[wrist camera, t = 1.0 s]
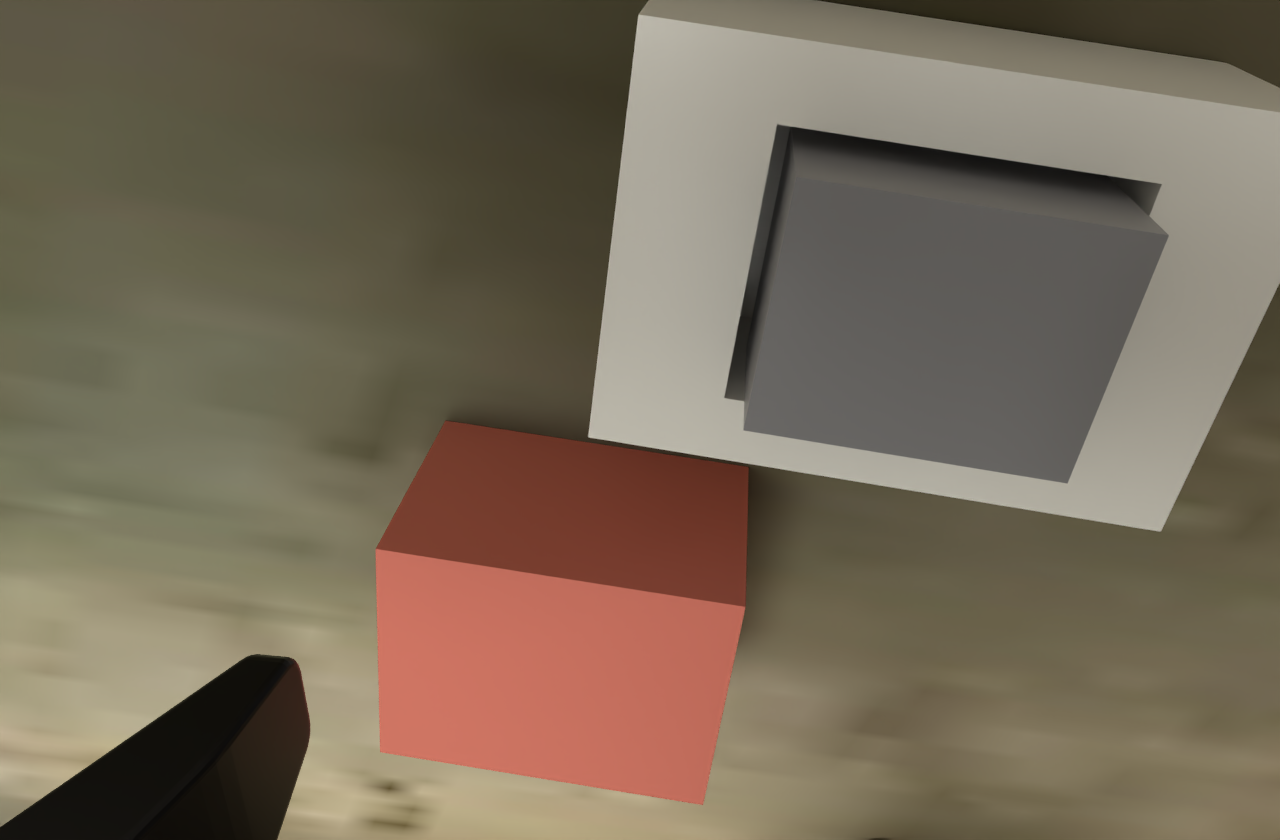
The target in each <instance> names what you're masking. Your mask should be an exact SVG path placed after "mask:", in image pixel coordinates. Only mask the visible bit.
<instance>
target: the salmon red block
mask: <svg viewBox="0 0 1280 840" xmlns="http://www.w3.org/2000/svg"><path fill="white" fill-rule="evenodd" d="M748 474H749V467H745V466H739V465H732V464H726V463H719V462H713V461H706V460H700V459H693V458H687V457H680V456H674V455H667V454H661V453H654V452H648V451H641V450H635V449H628V448H621V447H615V446H608V445H602V444H595V443H589V442H582V441H576V440H569V439H563V438H556V437H550V436H543V435H537V434H530V433H524V432H517V431H510V430H504V429H497V428H491V427H484V426H478V425H471V424H465V423H458V422H452V421H445V423H444V424H443V426H442V428H441V430H440V432H439V434H438V435H437V437H436V439H435V441H434V443H433V445H432V446H431V448H430V450H429V452H428V454H427V456H426V458H425V459H424V461H423V463H422V465H421V467H420V469H419V470H418V472H417V474H416V476H415V478H414V480H413V481H412V483H411V485H410V487H409V489H408V491H407V492H406V494H405V496H404V498H403V500H402V502H401V503H400V505H399V507H398V509H397V511H396V513H395V514H394V516H393V518H392V520H391V522H390V524H389V525H388V527H387V529H386V531H385V533H384V535H383V537H382V538H381V540H380V542H379V544H378V546H377V548H376V584H377V628H378V673H379V717H380V752H383V753H389V754H395V755H402V756H408V757H414V758H420V759H426V760H432V761H438V762H444V763H450V764H456V765H463V766H469V767H475V768H481V769H487V770H493V771H499V772H505V773H511V774H517V775H524V776H530V777H536V778H542V779H548V780H554V781H560V782H566V783H572V784H579V785H585V786H591V787H597V788H603V789H609V790H615V791H621V792H627V793H633V794H640V795H646V796H652V797H658V798H664V799H670V800H676V801H682V802H688V803H695V804H701V805H703V802H704V798H705V793H706V788H707V784H708V779H709V774H710V770H711V765H712V760H713V756H714V751H715V747H716V742H717V737H718V733H719V728H720V723H721V719H722V714H723V709H724V705H725V700H726V696H727V691H728V686H729V682H730V677H731V672H732V668H733V663H734V658H735V654H736V649H737V645H738V640H739V635H740V631H741V626H742V621H743V617H744V612H745V608H746V565H747V520H748Z"/></svg>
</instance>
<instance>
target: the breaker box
mask: <svg viewBox="0 0 1280 840" xmlns="http://www.w3.org/2000/svg"><path fill="white" fill-rule="evenodd" d="M790 126H792V127H798V128H805V129H811V130H817V131H824V132H830V133H837V134H843V135H850V136H856V137H862V138H869V139H875V140H882V141H888V142H895V143H901V144H907V145H914V146H920V147H927V148H933V149H940V150H946V151H952V152H959V153H965V154H972V155H978V156H985V157H991V158H997V159H1004V160H1010V161H1017V162H1023V163H1030V164H1036V165H1043V166H1049V167H1055V168H1062V169H1068V170H1075V171H1081V172H1088V173H1094V174H1100V175H1107V176H1108V177H1109V178H1110V179H1111V180H1113V181H1114V182H1115V183H1116V184H1117V185H1118V186H1119V187H1120V188H1121V189H1122V190H1123V191H1124V192H1125V193H1126V194H1127V195H1128V196H1129V197H1130V198H1131V199H1132V200H1133V201H1134V202H1135V203H1136V204H1137V205H1138V206H1139V207H1140V208H1141V209H1142V210H1143V211H1144V212H1145V213H1147V214H1148V215H1149V216H1150V217H1151V218H1152V219H1153V220H1154V221H1155V222H1156V223H1157V224H1158V225H1159V226H1160V227H1161V228H1162V229H1163V230H1164V231H1165V232H1166V233H1167V234H1168V235H1169V237H1168V239H1167V242H1166V244H1165V246H1164V249H1163V251H1162V254H1161V256H1160V259H1159V261H1158V264H1157V266H1156V268H1155V271H1154V273H1153V276H1152V278H1151V281H1150V283H1149V286H1148V288H1147V290H1146V293H1145V295H1144V298H1143V300H1142V303H1141V305H1140V308H1139V310H1138V312H1137V315H1136V317H1135V320H1134V322H1133V325H1132V327H1131V330H1130V332H1129V334H1128V337H1127V339H1126V342H1125V344H1124V347H1123V349H1122V352H1121V354H1120V356H1119V359H1118V361H1117V364H1116V366H1115V369H1114V371H1113V374H1112V376H1111V378H1110V381H1109V383H1108V386H1107V388H1106V391H1105V393H1104V396H1103V398H1102V400H1101V403H1100V405H1099V408H1098V410H1097V413H1096V415H1095V418H1094V420H1093V422H1092V425H1091V427H1090V430H1089V432H1088V435H1087V437H1086V440H1085V442H1084V445H1083V447H1082V449H1081V452H1080V454H1079V457H1078V459H1077V462H1076V464H1075V467H1074V469H1073V471H1072V474H1071V476H1070V479H1069V481H1068V484H1067V483H1061V482H1055V481H1049V480H1043V479H1037V478H1031V477H1024V476H1018V475H1012V474H1006V473H1000V472H994V471H988V470H982V469H976V468H970V467H964V466H957V465H951V464H945V463H939V462H933V461H927V460H921V459H915V458H909V457H903V456H896V455H890V454H884V453H878V452H872V451H866V450H860V449H854V448H848V447H842V446H836V445H829V444H823V443H817V442H811V441H805V440H799V439H793V438H787V437H781V436H775V435H768V434H762V433H756V432H750V431H744V430H743V426H744V397H745V368H746V346H747V341H748V336H749V331H750V326H751V321H752V316H753V311H754V306H755V301H756V296H757V291H758V286H759V281H760V276H761V271H762V266H763V261H764V256H765V251H766V246H767V241H768V236H769V231H770V226H771V221H772V216H773V211H774V206H775V201H776V196H777V191H778V186H779V181H780V176H781V171H782V166H783V161H784V156H785V151H786V146H787V141H788V136H789V131H790ZM1279 283H1280V88H1279V87H1277V86H1274V85H1272V84H1270V83H1268V82H1266V81H1264V80H1262V79H1260V78H1258V77H1256V76H1254V75H1251V74H1249V73H1247V72H1245V71H1243V70H1241V69H1239V68H1237V67H1235V66H1233V65H1230V64H1228V63H1225V62H1218V61H1212V60H1205V59H1199V58H1192V57H1185V56H1179V55H1172V54H1166V53H1159V52H1153V51H1146V50H1139V49H1133V48H1126V47H1120V46H1113V45H1106V44H1100V43H1093V42H1087V41H1080V40H1074V39H1067V38H1060V37H1054V36H1047V35H1041V34H1034V33H1028V32H1021V31H1014V30H1008V29H1001V28H995V27H988V26H981V25H975V24H968V23H962V22H955V21H949V20H942V19H935V18H929V17H922V16H916V15H909V14H902V13H896V12H889V11H883V10H876V9H870V8H863V7H856V6H850V5H843V4H837V3H830V2H823V1H817V0H649V1H648V2H647V3H646V5H645V6H644V7H643V9H642V10H641V12H640V13H639V14H638V22H637V31H636V39H635V48H634V56H633V64H632V73H631V81H630V90H629V98H628V106H627V115H626V123H625V132H624V140H623V148H622V157H621V165H620V174H619V182H618V190H617V199H616V207H615V216H614V224H613V232H612V241H611V249H610V258H609V266H608V274H607V283H606V291H605V300H604V308H603V316H602V325H601V333H600V342H599V350H598V358H597V367H596V375H595V384H594V392H593V400H592V409H591V417H590V426H589V434H588V437H589V438H596V439H602V440H608V441H614V442H620V443H626V444H632V445H638V446H644V447H650V448H656V449H662V450H668V451H674V452H680V453H686V454H693V455H699V456H705V457H711V458H717V459H723V460H729V461H735V462H741V463H747V464H753V465H759V466H765V467H771V468H777V469H783V470H790V471H796V472H802V473H808V474H814V475H820V476H826V477H832V478H838V479H844V480H850V481H856V482H862V483H868V484H874V485H880V486H887V487H893V488H899V489H905V490H911V491H917V492H923V493H929V494H935V495H941V496H947V497H953V498H959V499H965V500H971V501H977V502H983V503H990V504H996V505H1002V506H1008V507H1014V508H1020V509H1026V510H1032V511H1038V512H1044V513H1050V514H1056V515H1062V516H1068V517H1074V518H1080V519H1087V520H1093V521H1099V522H1105V523H1111V524H1117V525H1123V526H1129V527H1135V528H1141V529H1147V530H1153V531H1159V532H1161V530H1162V528H1163V526H1164V524H1165V522H1166V520H1167V517H1168V515H1169V513H1170V511H1171V509H1172V507H1173V505H1174V503H1175V501H1176V499H1177V497H1178V494H1179V492H1180V490H1181V488H1182V486H1183V484H1184V482H1185V480H1186V478H1187V476H1188V474H1189V471H1190V469H1191V467H1192V465H1193V463H1194V461H1195V459H1196V457H1197V455H1198V453H1199V451H1200V448H1201V446H1202V444H1203V442H1204V440H1205V438H1206V436H1207V434H1208V432H1209V430H1210V428H1211V425H1212V423H1213V421H1214V419H1215V417H1216V415H1217V413H1218V411H1219V409H1220V407H1221V405H1222V402H1223V400H1224V398H1225V396H1226V394H1227V392H1228V390H1229V388H1230V386H1231V384H1232V382H1233V379H1234V377H1235V375H1236V373H1237V371H1238V369H1239V367H1240V365H1241V363H1242V361H1243V359H1244V356H1245V354H1246V352H1247V350H1248V348H1249V346H1250V344H1251V342H1252V340H1253V338H1254V336H1255V333H1256V331H1257V329H1258V327H1259V325H1260V323H1261V321H1262V319H1263V317H1264V315H1265V313H1266V310H1267V308H1268V306H1269V304H1270V302H1271V300H1272V298H1273V296H1274V294H1275V292H1276V290H1277V287H1278V285H1279Z"/></svg>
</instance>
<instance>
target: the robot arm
mask: <svg viewBox="0 0 1280 840" xmlns="http://www.w3.org/2000/svg"><path fill="white" fill-rule="evenodd" d="M309 738H310V719H309V713H308V708H307V703H306V697H305V692H304V687H303V681H302V676H301V671H300V668H299V665H298V664H297V662H296V661H295V660H294V659H292V658H289V657H281V656H271V655H260V654H255V655H250V656H248V657H246V658H244V659H242V660H241V661H239V662H238V663H236V664H235V665H233V666H232V667H231V668H229V669H228V670H226V671H225V672H223V673H222V674H220V675H219V676H218V677H216V678H215V679H213V680H212V681H210V682H209V683H208V684H206V685H205V686H203V687H202V688H200V689H199V690H197V691H196V692H195V693H193V694H192V695H190V696H189V697H187V698H186V699H184V700H183V701H182V702H180V703H179V704H177V705H176V706H174V707H173V708H171V709H170V710H169V711H167V712H166V713H164V714H163V715H161V716H160V717H158V718H157V719H156V720H154V721H153V722H151V723H150V724H148V725H147V726H146V727H144V728H143V729H141V730H140V731H138V732H137V733H135V734H134V735H133V736H131V737H130V738H128V739H127V740H125V741H124V742H122V743H121V744H120V745H118V746H117V747H115V748H114V749H112V750H111V751H109V752H108V753H107V754H105V755H104V756H102V757H101V758H99V759H98V760H96V761H95V762H94V763H92V764H91V765H89V766H88V767H86V768H85V769H84V770H82V771H81V772H79V773H78V774H76V775H75V776H73V777H72V778H71V779H69V780H68V781H66V782H65V783H63V784H62V785H60V786H59V787H58V788H56V789H55V790H53V791H52V792H50V793H49V794H47V795H46V796H45V797H43V798H42V799H40V800H39V801H37V802H36V803H35V804H33V805H32V806H30V807H29V808H27V809H26V810H24V811H23V812H22V813H20V814H19V815H17V816H16V817H14V818H13V819H11V820H10V821H9V822H7V823H6V824H4V825H3V826H1V827H0V840H277V839H278V836H279V833H280V830H281V827H282V824H283V821H284V818H285V815H286V811H287V808H288V805H289V802H290V799H291V796H292V793H293V790H294V787H295V784H296V781H297V778H298V775H299V772H300V769H301V766H302V763H303V760H304V757H305V754H306V751H307V747H308V743H309Z"/></svg>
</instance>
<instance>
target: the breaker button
mask: <svg viewBox="0 0 1280 840" xmlns="http://www.w3.org/2000/svg"><path fill="white" fill-rule="evenodd" d="M1168 237H1169V235H1168V234H1167V233H1166V232H1165V231H1164V230H1163V229H1162V228H1161V227H1160V226H1159V225H1158V224H1157V223H1156V222H1155V221H1154V220H1153V219H1152V218H1151V217H1150V216H1149V215H1148V214H1147V213H1145V212H1144V211H1143V210H1142V209H1141V208H1140V207H1139V206H1138V205H1137V204H1136V203H1135V202H1134V201H1133V200H1132V199H1131V198H1130V197H1129V196H1128V195H1127V194H1126V193H1125V192H1124V191H1123V190H1122V189H1121V188H1120V187H1119V186H1118V185H1117V184H1116V183H1115V182H1114V181H1113V180H1111V179H1110V178H1109V177H1108V176H1107V175H1100V174H1094V173H1088V172H1081V171H1075V170H1068V169H1062V168H1055V167H1049V166H1043V165H1036V164H1030V163H1023V162H1017V161H1010V160H1004V159H997V158H991V157H985V156H978V155H972V154H965V153H959V152H952V151H946V150H940V149H933V148H927V147H920V146H914V145H907V144H901V143H895V142H888V141H882V140H875V139H869V138H862V137H856V136H850V135H843V134H837V133H830V132H824V131H817V130H811V129H805V128H798V127H792V126H790V131H789V136H788V141H787V146H786V151H785V156H784V161H783V166H782V171H781V176H780V181H779V186H778V191H777V196H776V201H775V206H774V211H773V216H772V221H771V226H770V231H769V236H768V241H767V246H766V251H765V256H764V261H763V266H762V271H761V276H760V281H759V286H758V291H757V296H756V301H755V306H754V311H753V316H752V321H751V326H750V331H749V336H748V341H747V346H746V368H745V397H744V426H743V430H744V431H750V432H756V433H762V434H768V435H775V436H781V437H787V438H793V439H799V440H805V441H811V442H817V443H823V444H829V445H836V446H842V447H848V448H854V449H860V450H866V451H872V452H878V453H884V454H890V455H896V456H903V457H909V458H915V459H921V460H927V461H933V462H939V463H945V464H951V465H957V466H964V467H970V468H976V469H982V470H988V471H994V472H1000V473H1006V474H1012V475H1018V476H1024V477H1031V478H1037V479H1043V480H1049V481H1055V482H1061V483H1067V484H1068V481H1069V479H1070V476H1071V474H1072V471H1073V469H1074V467H1075V464H1076V462H1077V459H1078V457H1079V454H1080V452H1081V449H1082V447H1083V445H1084V442H1085V440H1086V437H1087V435H1088V432H1089V430H1090V427H1091V425H1092V422H1093V420H1094V418H1095V415H1096V413H1097V410H1098V408H1099V405H1100V403H1101V400H1102V398H1103V396H1104V393H1105V391H1106V388H1107V386H1108V383H1109V381H1110V378H1111V376H1112V374H1113V371H1114V369H1115V366H1116V364H1117V361H1118V359H1119V356H1120V354H1121V352H1122V349H1123V347H1124V344H1125V342H1126V339H1127V337H1128V334H1129V332H1130V330H1131V327H1132V325H1133V322H1134V320H1135V317H1136V315H1137V312H1138V310H1139V308H1140V305H1141V303H1142V300H1143V298H1144V295H1145V293H1146V290H1147V288H1148V286H1149V283H1150V281H1151V278H1152V276H1153V273H1154V271H1155V268H1156V266H1157V264H1158V261H1159V259H1160V256H1161V254H1162V251H1163V249H1164V246H1165V244H1166V242H1167V239H1168Z"/></svg>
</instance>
